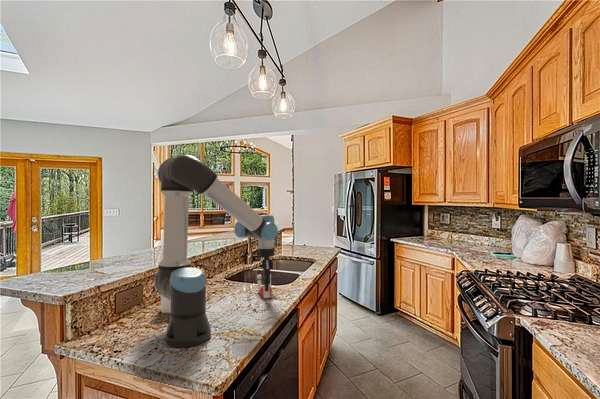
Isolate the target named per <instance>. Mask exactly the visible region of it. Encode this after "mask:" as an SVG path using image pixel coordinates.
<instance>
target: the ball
mask: <svg viewBox="0 0 600 399" xmlns="http://www.w3.org/2000/svg"><path fill="white" fill-rule="evenodd" d="M272 292H273V289H272V286H271V287H270V296H271V295H272ZM259 294H260V295H261V297H263V298H264V284H262V285H261V288H260V293H259Z"/></svg>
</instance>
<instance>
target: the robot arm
mask: <svg viewBox="0 0 600 399" xmlns="http://www.w3.org/2000/svg"><path fill="white" fill-rule="evenodd" d="M218 176H219V175H218V174H217V173H216V172H215V171H214V170H213V169H211V168H210V166H208V165H207V164H205V163H204V162H203V161H201V159H199V158H197V157H195V156H193V155H190V154H180V155H177V156H174V157H173V156H172V157H169V158H167V159H165V160H164V161H163V162H162V163H161V164H160V165H159V166H158V169H157V178H158V181H159V182H160V193H161V194H163V195H164V214H163V215H164V216H163V218H164V219H163V248H162V250H163V251H162V260H160V262H158V269H157V271H156V273H155V276H154V282H153V283H154V287H155V289H156V291H157V292H158V294H160V296H161V295H162V296H164V297H166V298H167V299H168V300H170V312H171V313H170V316H169V317H170V318H169V322H168V324H167V326H166V331H165V334H164V343H165V344H166V346H168V347H171V348H177V349H178V348H183V349H184V348H191V347H193V346H194V347H195V346H199V345H201V344H204V343H205V342H207V341H208V340H209V339H211V336H212V329H211V327H212V326H211V325H210V322H209V319H208V317H207V314H206V313H207V312H206V310H207V309H206V308H207V304H206V303H207V300H206V299H207V280H206V278H207V277H206V273H205V271H203V270H202V269H200V268H197V267H192V261H191V260H190V259H189V258H188V240H189V239H188V237H189V209H190V208H189V206H190V205H189V204H190V202H189V199H190V196H191V195H192V194H193V193H194V191H195V192H196V193H198V194H199V195H205V197H207V198H209V200H211V201H212V202H213V203H214V204H216V205H217V206H218V207H220V208H221V209H222V210H224V211H225V212H226V213H227V214H228V215H230V216H231V217H232V218H233V219H235V220H236V222H235V224H234V230H233V231H234V235H235V236H236V237H237V238H244V239H245V238H252V239H257V240H258V241H257V242H258V244H257V246H258V257H261V258H263V259H261V264H262V270H263V272H262V274H263V276H262V278H263V281H262V285H264V297H263V298H264V299H268V298H270V296H271V295H270V274H271V267H272V266H271V264H272V261H271V258H272V257H274V256H275V248H274V247H275V243H276V240H275V239H276V237H277V236H278V234H279V233H278V232H279V229H278V226H277V225H276V224H275V217H274V215H272V214H259V213H258V212H256V210H255V209H253V208H252V207H251V206H250V205H249V204H247V202H245V201H244V199H242V198H241V197H240V196H238V195H237V194H236V193H235V192H234V191H232V190H231V189H230V188H229V187H228V186H227V185H226V184H225V183H223V181H221V180H220V179H219V177H218Z"/></svg>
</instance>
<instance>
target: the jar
mask: <svg viewBox="0 0 600 399" xmlns="http://www.w3.org/2000/svg"><path fill="white" fill-rule="evenodd" d="M160 312H161V313H162V314H171V312H170V300H168V299H167V298H166V297H164V296H162V295H161V294H160Z"/></svg>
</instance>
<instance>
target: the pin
mask: <svg viewBox="0 0 600 399" xmlns="http://www.w3.org/2000/svg"><path fill="white" fill-rule="evenodd" d="M256 282H257V286H256V287H257V288H256V289H257V294H260V288H261V287H262V274H257V278H256Z"/></svg>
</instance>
